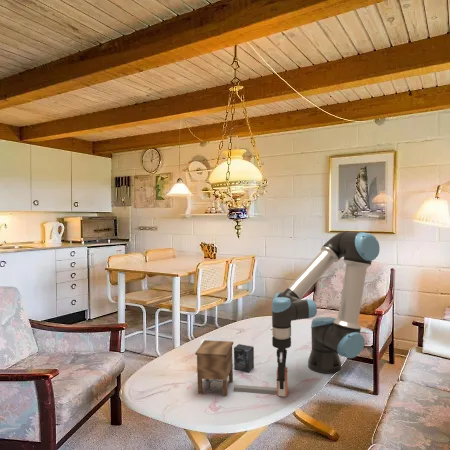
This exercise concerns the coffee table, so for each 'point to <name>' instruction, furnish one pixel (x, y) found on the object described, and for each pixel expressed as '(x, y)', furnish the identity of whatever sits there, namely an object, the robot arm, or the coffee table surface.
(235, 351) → the box
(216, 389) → the token
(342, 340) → the robot arm
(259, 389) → the orange-headed mallet
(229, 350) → the cabinet
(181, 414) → the coffee table surface
